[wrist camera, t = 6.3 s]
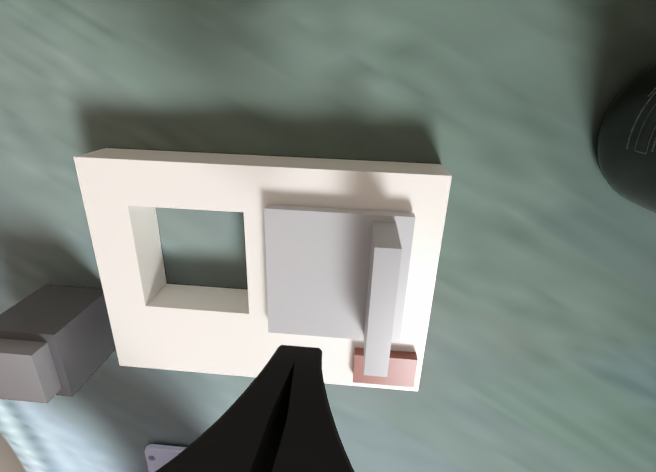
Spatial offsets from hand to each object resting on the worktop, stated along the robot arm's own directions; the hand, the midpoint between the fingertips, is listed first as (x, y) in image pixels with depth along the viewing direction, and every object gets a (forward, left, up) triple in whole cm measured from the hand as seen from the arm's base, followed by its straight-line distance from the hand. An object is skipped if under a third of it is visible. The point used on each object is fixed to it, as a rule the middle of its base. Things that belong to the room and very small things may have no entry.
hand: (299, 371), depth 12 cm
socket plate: (-1, +3, -9) cm, 10 cm away
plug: (-5, +15, -9) cm, 19 cm away
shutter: (0, -1, -7) cm, 7 cm away
